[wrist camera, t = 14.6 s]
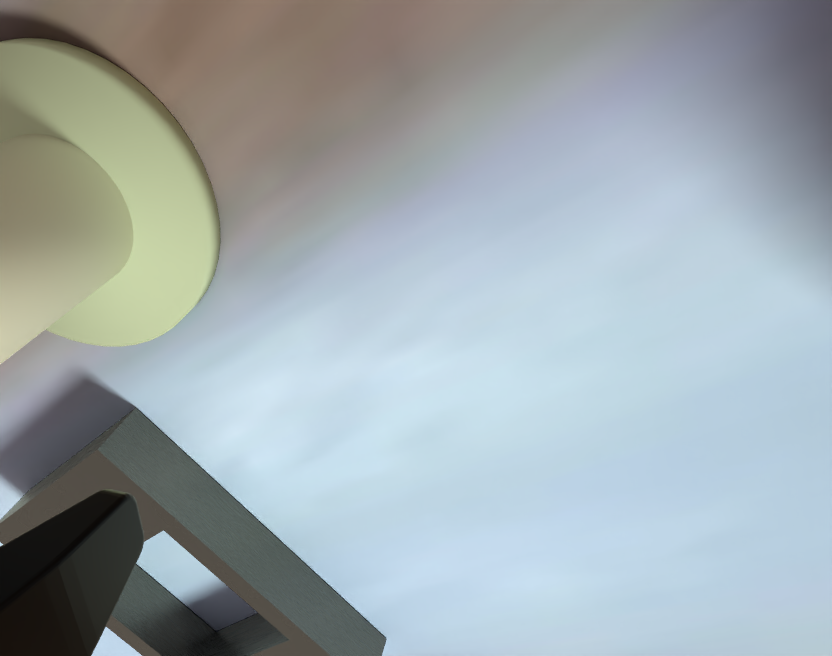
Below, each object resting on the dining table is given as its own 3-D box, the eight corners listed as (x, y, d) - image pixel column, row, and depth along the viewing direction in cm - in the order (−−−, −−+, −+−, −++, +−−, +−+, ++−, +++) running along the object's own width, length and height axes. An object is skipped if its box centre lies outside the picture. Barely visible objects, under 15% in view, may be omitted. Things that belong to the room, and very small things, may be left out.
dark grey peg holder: (386, 639, 31) (370, 691, 29) (260, 684, 36) (239, 733, 34) (135, 407, 27) (97, 449, 25) (28, 490, 32) (-12, 532, 30)
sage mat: (281, 234, 22) (268, 247, 21) (113, 374, 27) (97, 390, 26) (29, -42, 19) (2, -39, 18) (-107, 170, 24) (-133, 180, 23)
